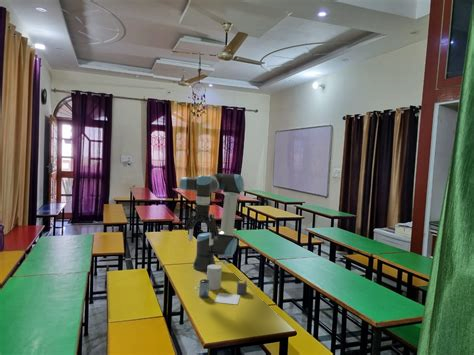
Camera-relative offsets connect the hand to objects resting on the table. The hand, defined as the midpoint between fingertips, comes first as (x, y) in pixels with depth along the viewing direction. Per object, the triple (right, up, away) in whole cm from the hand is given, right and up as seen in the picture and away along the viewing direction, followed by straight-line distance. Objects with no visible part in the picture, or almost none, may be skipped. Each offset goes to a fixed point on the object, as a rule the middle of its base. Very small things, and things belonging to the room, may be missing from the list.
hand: (200, 243), depth 184 cm
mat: (+15, -29, -5) cm, 33 cm away
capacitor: (+2, -28, -3) cm, 28 cm away
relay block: (+22, -29, +4) cm, 37 cm away
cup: (+6, -28, +10) cm, 30 cm away
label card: (-1, -27, +7) cm, 28 cm away
